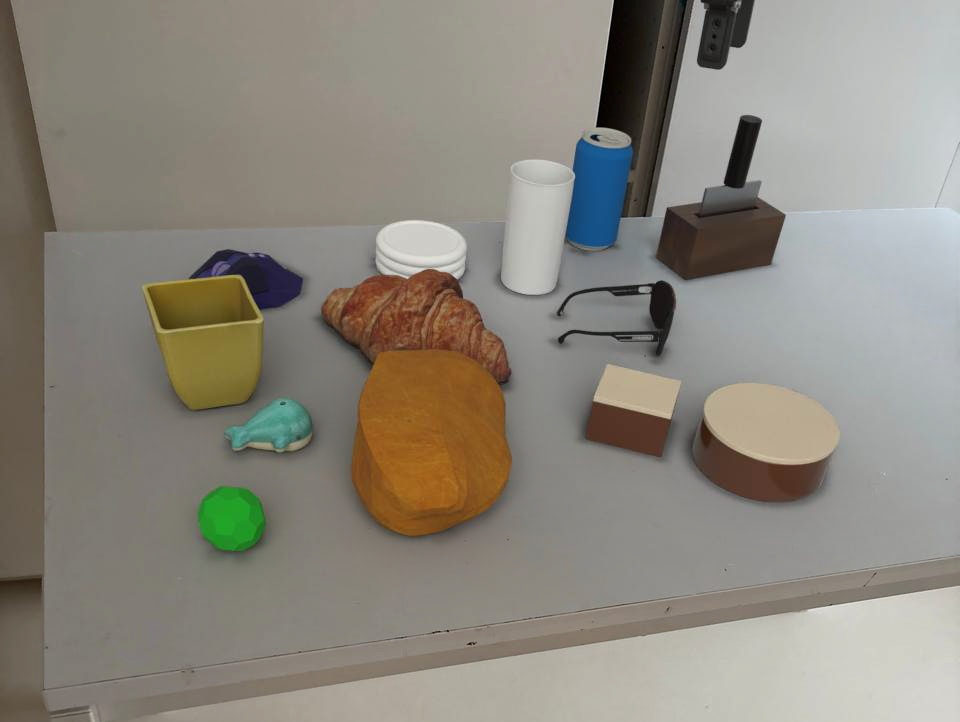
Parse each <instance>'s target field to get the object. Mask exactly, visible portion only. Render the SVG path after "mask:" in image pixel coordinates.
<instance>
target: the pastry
mask: <svg viewBox="0 0 960 722" xmlns="http://www.w3.org/2000/svg"><path fill="white" fill-rule="evenodd" d="M463 292H464V291H463V289H462V286H461V284H460V283H459V279H458V280H457V279H456V278H455V277H454V276H453V275H451V274H450V273H447V272H440V271H438V270H435V269H426V270H423V271H421V272H419V273H416V274H414V275H412V276H411V277H409V278H408V279H406V278H404V277H401V276H398V275H383V274H375V275H372V276H370V277H368V278H366V279H364V280H363V281H362V282H361V283H359V284H357V285H354V286H353V287H339V288H334V289H333V290H332V291H331V292H330V294H329V295H328V296H327V298H326V299H325V300H324V301H323V303H322V304H321V307H320V313H321V316H322V318H323V319H324V321H325V323H326V324H327V325H328V326H329V327H330V328H332V329H334V331H335V332H336V333H338V334H339V335H341V337H342V338H343V339H344V341H345V342H347V343H348V344H349V345H350V346H352V347H355V348H358V349H360V353H361V354H362V355H364V356H365V357H366V358H367V359H368V360H369V361H370V363H371V364H372V366H373V365H374V363H375V361H376V358H377V356H378V354H379V353H382V352H387V351H393V350H423V349H439V350H448V351H457V352H459V353H461V354H463V355H465V356H467V357H469V358H471V359H473V360H475V361H477V362H478V363H479V364H480V365H481V366H483V367H484V368H485V369H486V370H487V371H488V372H489V373H490V374H491V375H492V376H493V377H494V379H495V380H496V381H497V383H498V384H499V385H504V384H506V383H508V382H509V380H510V377H511V376H512V368H511V367H510V365H509V359H508V356H507V351H506V348H505V342H504V341H503V340H502V338H501V337H500V336H498V335H497V334H495V333H494V332H492V331H491V330H490V329H488V328H487V327H486V326H485V323H484V320H483V318H482V314H481V312H480V310H479V308H478V307H477V306H476V304H475V303H474V302H472V301H470V300H469V299H466V298H464V293H463Z"/></svg>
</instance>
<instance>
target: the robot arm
mask: <svg viewBox="0 0 960 722" xmlns="http://www.w3.org/2000/svg"><path fill="white" fill-rule="evenodd" d="M755 1H756V0H700V3H701V4H703V9H704V10H705V11H704V18H703V23H702V29H701V35H700V39H699V45H698V51H697V57H696V64H697V65H698V67H700V68H703V69H710V70H716V71H720V70H722V69H723V68H725V66H726V65H727V63H728V59H729V54H730V49H731V48H736V49H740V48H741V49H742V47H744V46H745V44H746V43H747V40H748V35H749V30H750V25H751V22H752V16H753V12H754V6H755Z"/></svg>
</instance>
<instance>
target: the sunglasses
mask: <svg viewBox="0 0 960 722" xmlns="http://www.w3.org/2000/svg"><path fill="white" fill-rule="evenodd" d="M597 292H609V293H610V294H612V296H614V297H629V296H645V295H650V299H649V300H650V301H649V308H648V312H649V316H650V318H651V321H652V323H653V325H654V327H655V328H656V329H658V330H646V331H645V330H636V331H635V330H633V331H632V330H631V331H628V330H627V331H625V330H624V331H623V330H622V331H591V330H582V329H569V330H568V331H566V332H565V333H563V334H562V335H560V336H558V338H557V342H558V343H559V344H563V343H564V342H565V340H566V338H567V337H568V336H571V335H573V334H578V335H579V334H580V335H585V336H586V335H587V336H596V337H612V338H614V339H616V340H617V341H618V342H621V343H636V342H638V343H644V342H645V343H657V346H656V352H655V354H656V356H657V357H660V356H661V355H662V352H663V351H664V347H665V345H666V343H667V341H668V338H669V335H670V332H671V328H672V325H673V321H674V314H675V310H676V309H677V299H676V292H675V289H674V287H673V286H672V285H671V284H670V282H667V281H666V280H661V279H659V280H657V281H656V282H655V283H654V282H651V283H642V284H641V283H640V284H629V285H627V284H626V285H614V286H599V287H591V288H585V289H580V290H576V291H573V292H572V293H569V295H567V296H566V298H565V299H564V300H563V302H562V303H561V305H560V306H559V308H558V310H557V312H556V314H557V316H558V317H561V316H562V315H563V313H564V310H565V307H566V306H567V304H568V303H569V301H570V300H572V298H574V297H576V296H579V295H583V294H588V293H597Z"/></svg>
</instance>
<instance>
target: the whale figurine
mask: <svg viewBox="0 0 960 722" xmlns="http://www.w3.org/2000/svg"><path fill="white" fill-rule="evenodd" d="M313 430H314V429H313V420H312V416H311V414H310V412H309V410H308V409H307V408H306V407H305V406H304V405H303V404H302V403H300V402H299V401H297V400H295V399H293V398H288V397H279V398H276V399H275V400H273V401H271V402H270V403H268V405H265V407H264V408H262V409H258V410H257V411H256V413H255V414H254V415H253V416H252V417H251V418H250V419H249V420H247V421H246V423H245V424H243V425H231V426H229V427H227V428H226V429H225V431H224V436H225V438H227V440H229V441H230V446H231V449H232V450H233V451H236V452H238V451H242V450H244V449H247V448H253V449H257V450H264V451H275V452H276V453H284V452H295V451H298V450H300V449H303V448H304V447H305V446H306V445H308V443H309V442H310V441H311V439H312V437H313Z"/></svg>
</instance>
